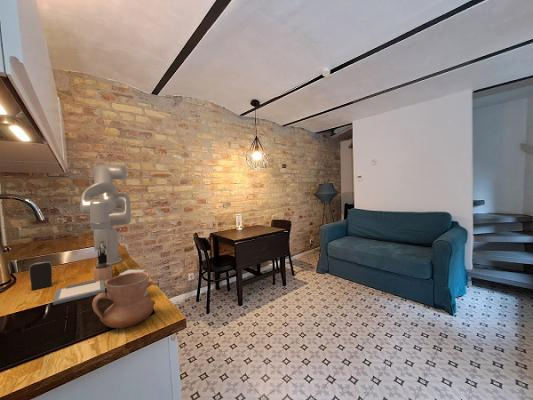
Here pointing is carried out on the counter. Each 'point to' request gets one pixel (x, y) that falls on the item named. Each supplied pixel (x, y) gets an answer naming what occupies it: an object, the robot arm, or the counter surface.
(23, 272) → the counter surface
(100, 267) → the marker
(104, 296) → the ceramic jug
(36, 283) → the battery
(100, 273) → the pen cup
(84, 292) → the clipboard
